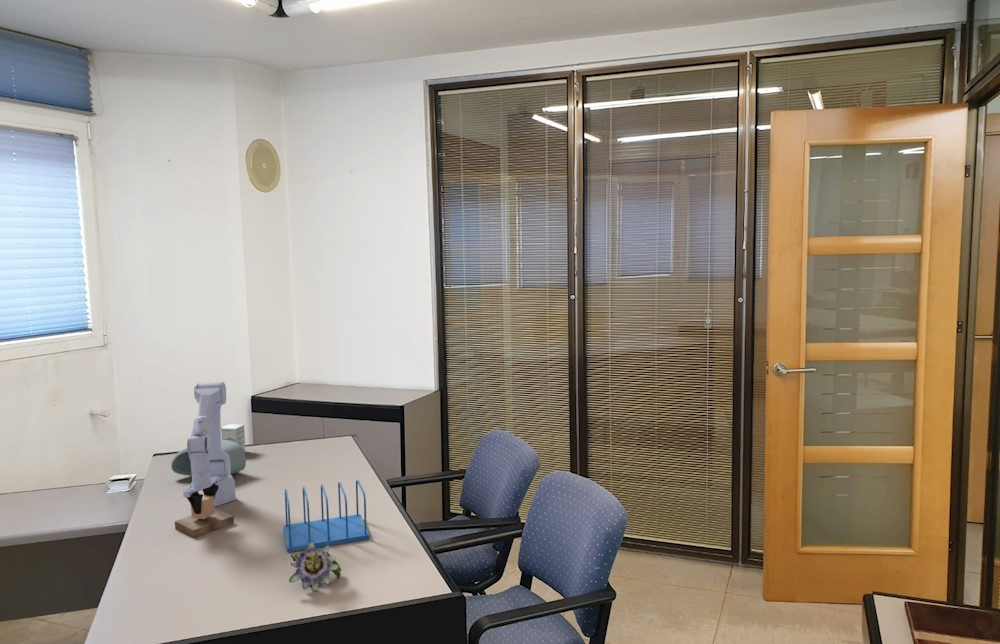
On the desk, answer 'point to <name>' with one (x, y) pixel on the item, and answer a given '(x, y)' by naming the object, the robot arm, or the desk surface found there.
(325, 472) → the desk surface
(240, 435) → the supplement box
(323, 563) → the passion flower
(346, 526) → the file sorter
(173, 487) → the desk surface
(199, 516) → the terracotta block
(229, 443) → the green rounded shell
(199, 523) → the block
